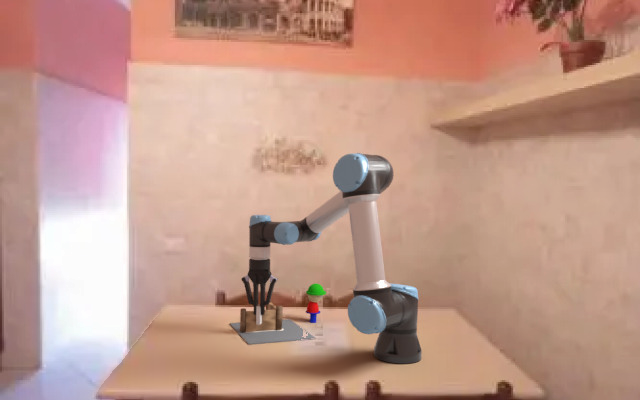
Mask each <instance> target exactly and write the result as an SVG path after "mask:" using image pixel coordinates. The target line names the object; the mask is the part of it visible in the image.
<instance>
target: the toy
mask: <svg viewBox="0 0 640 400" xmlns="http://www.w3.org/2000/svg"><path fill="white" fill-rule="evenodd" d="M305 294H306V295H307V299H308V300H309V302H308V303H307V308H306V311H305V313H306V314H309V323H311V324H316V323H317V315H319V314H321V311H320V309H319V304H318V303H319V302H321V300H322V299H323V296H324V295H327V291H325V290H324V287H323V285H321V284H320V283H312V284H310V285H309V286H308V288H307V290H305Z"/></svg>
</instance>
